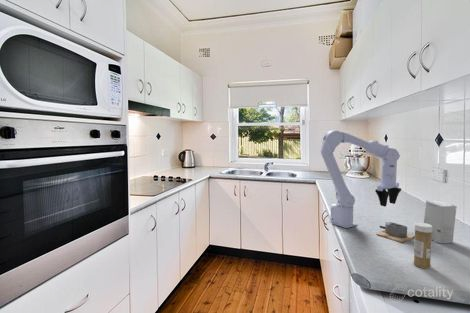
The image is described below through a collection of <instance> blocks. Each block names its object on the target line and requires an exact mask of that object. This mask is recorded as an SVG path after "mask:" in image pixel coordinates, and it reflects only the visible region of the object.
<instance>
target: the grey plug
mask: <svg viewBox="0 0 470 313" xmlns="http://www.w3.org/2000/svg"><path fill="white" fill-rule="evenodd" d="M379 228H380V229H383V230H385V233H386V234H389V235H392V236H396V237H399V238H407V234H408V226H406V225H403V224H399V223H397V222H391V221H386V222H385V225H384V226H383V225H379Z"/></svg>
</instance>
